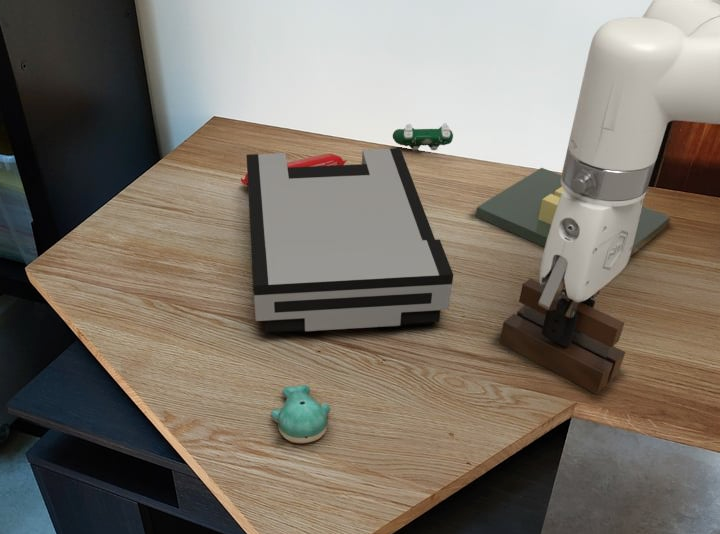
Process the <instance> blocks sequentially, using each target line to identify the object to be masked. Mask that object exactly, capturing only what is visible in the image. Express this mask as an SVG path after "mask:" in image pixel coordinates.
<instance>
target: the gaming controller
mask: <svg viewBox="0 0 720 534" xmlns="http://www.w3.org/2000/svg"><path fill="white" fill-rule="evenodd" d="M392 139H393V141H394V142H395V143H396V144H397V145H400V146H404V147H410V149H411V150H412V151H413V152H415V151H419V149H420V147H421V146H428V147H429V148H430V150H431V151H437V150H438V148H439V147H440V146H447V145H449V144H452V142H453V139H454V132H453V131H452V130H451V129H450V126H449V124H448V123H446V122H445V123H443V124H441V126H440V127H439V128H414V127H413V125H412V124H411V123H407V124H406V125H405V128H397V129H396V130H394V132H393V133H392Z"/></svg>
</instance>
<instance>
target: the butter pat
mask: <svg viewBox="0 0 720 534" xmlns="http://www.w3.org/2000/svg"><path fill="white" fill-rule="evenodd" d="M559 200H560V197H558V196H555V195H553V194H550V195H548V196H547V197H545V198H543V199H542V204H541V209H540V213H539V218H538V219H539V220H541V221H543V222H546V223H548V224H550V225H551V224H552V221H553V218H554V215H555V211H556V209H557V206H558V203H559Z"/></svg>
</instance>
